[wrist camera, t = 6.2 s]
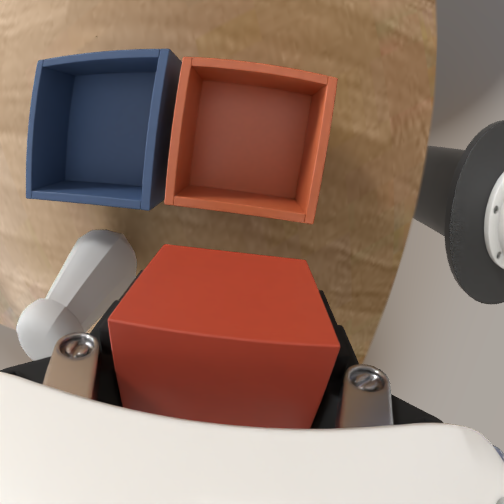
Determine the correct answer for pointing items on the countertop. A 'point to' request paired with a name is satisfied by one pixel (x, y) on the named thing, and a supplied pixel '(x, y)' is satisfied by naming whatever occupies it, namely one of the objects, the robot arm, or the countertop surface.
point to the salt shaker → (78, 292)
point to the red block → (224, 339)
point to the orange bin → (249, 138)
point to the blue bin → (102, 128)
